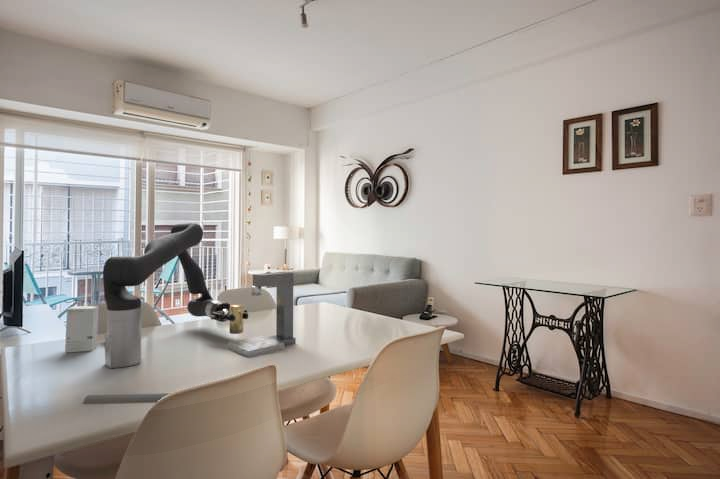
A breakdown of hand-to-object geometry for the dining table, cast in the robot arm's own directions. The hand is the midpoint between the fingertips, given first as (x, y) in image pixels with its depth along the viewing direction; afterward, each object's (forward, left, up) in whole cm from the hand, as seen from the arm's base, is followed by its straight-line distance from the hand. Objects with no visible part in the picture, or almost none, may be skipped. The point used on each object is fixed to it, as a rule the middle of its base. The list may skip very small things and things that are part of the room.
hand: (240, 317), depth 154 cm
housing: (0, +3, -6) cm, 7 cm away
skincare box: (-44, +29, -10) cm, 53 cm away
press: (+3, -8, -9) cm, 13 cm away
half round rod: (-46, -28, -10) cm, 55 cm away
